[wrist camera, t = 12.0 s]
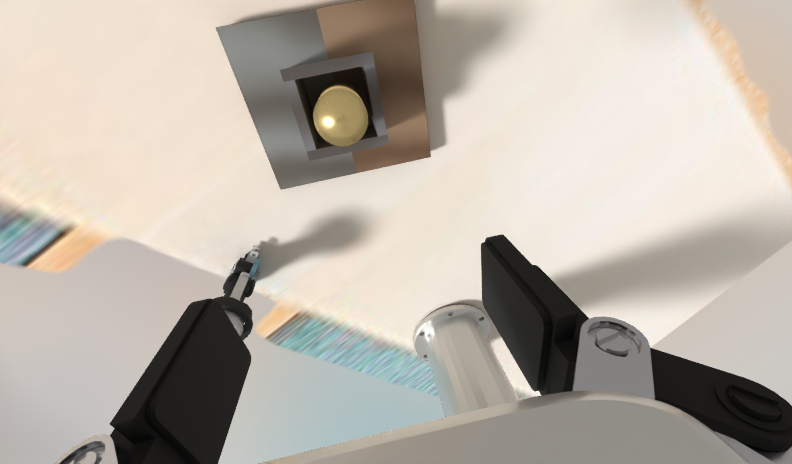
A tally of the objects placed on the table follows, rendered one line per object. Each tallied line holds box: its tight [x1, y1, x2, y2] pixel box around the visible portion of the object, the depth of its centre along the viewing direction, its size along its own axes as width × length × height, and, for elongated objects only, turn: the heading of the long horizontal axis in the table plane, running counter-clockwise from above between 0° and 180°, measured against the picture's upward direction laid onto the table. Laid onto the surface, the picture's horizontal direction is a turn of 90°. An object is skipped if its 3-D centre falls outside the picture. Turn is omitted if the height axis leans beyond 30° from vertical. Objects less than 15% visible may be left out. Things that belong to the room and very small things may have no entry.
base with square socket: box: [216, 0, 431, 189], centre depth 26 cm, size 14×16×6 cm
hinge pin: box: [313, 80, 368, 146], centre depth 24 cm, size 4×4×9 cm
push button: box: [213, 246, 260, 340], centre depth 32 cm, size 7×5×10 cm
